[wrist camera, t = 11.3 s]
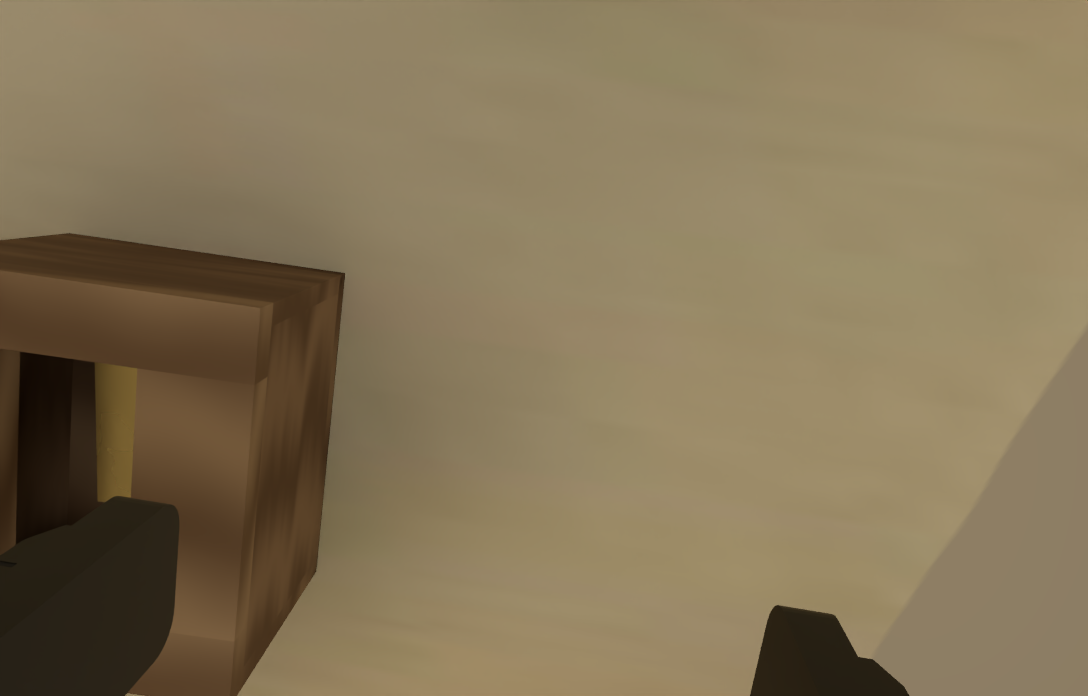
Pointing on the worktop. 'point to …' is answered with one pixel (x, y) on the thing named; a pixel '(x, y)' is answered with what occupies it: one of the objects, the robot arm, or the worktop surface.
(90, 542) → the robot arm
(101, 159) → the worktop surface
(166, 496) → the box
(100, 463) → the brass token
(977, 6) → the worktop surface
